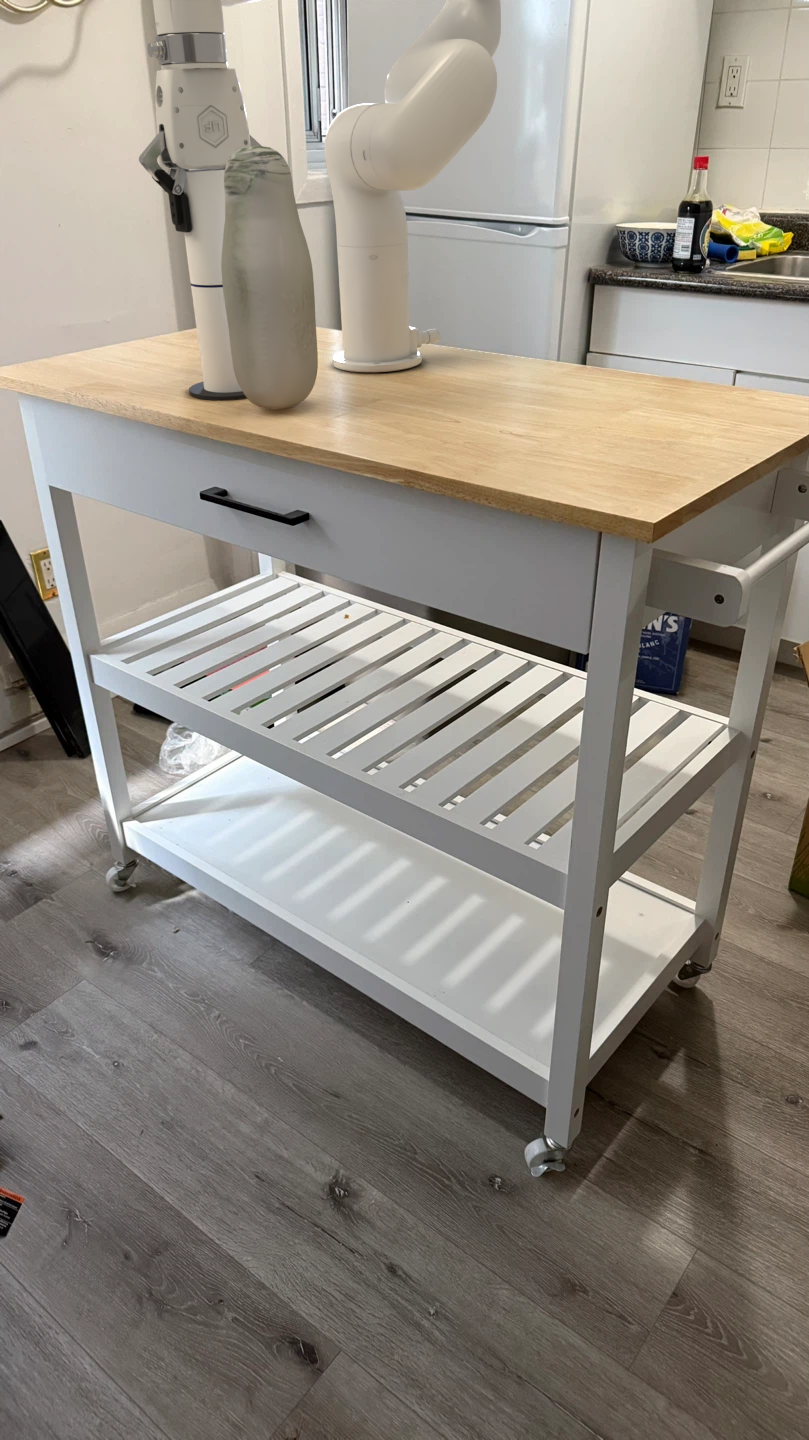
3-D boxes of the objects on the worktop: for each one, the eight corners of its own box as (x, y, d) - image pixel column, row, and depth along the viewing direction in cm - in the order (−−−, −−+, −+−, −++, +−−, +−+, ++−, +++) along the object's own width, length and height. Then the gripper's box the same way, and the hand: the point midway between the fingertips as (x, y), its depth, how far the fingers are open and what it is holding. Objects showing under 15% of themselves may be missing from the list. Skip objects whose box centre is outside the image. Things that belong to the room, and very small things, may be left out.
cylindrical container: (214, 395, 130) (186, 172, 117) (197, 384, 136) (168, 170, 123) (267, 387, 133) (245, 168, 120) (248, 377, 138) (225, 167, 126)
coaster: (252, 376, 141) (252, 373, 141) (287, 391, 133) (287, 387, 133) (176, 388, 136) (176, 384, 136) (208, 404, 128) (207, 400, 128)
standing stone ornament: (256, 396, 131) (231, 145, 117) (332, 399, 129) (315, 143, 114) (224, 416, 123) (192, 148, 109) (304, 419, 120) (282, 146, 106)
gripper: (134, 53, 109) (160, 237, 118) (276, 53, 117) (290, 224, 127) (107, 57, 114) (133, 233, 123) (245, 56, 123) (260, 221, 132)
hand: (213, 227), depth 125 cm, fingers closed on cylindrical container, 7 cm apart
